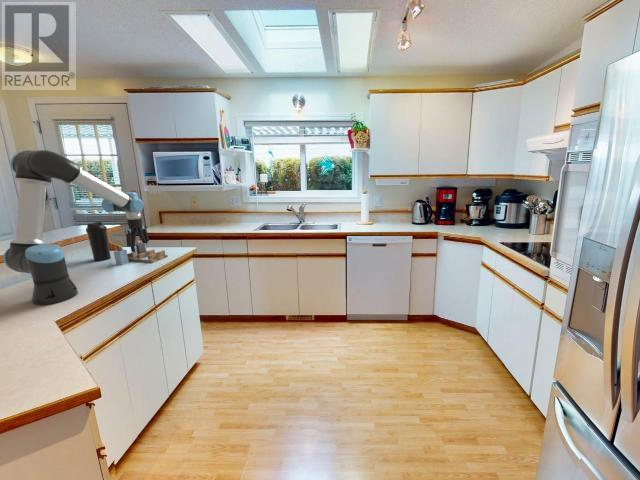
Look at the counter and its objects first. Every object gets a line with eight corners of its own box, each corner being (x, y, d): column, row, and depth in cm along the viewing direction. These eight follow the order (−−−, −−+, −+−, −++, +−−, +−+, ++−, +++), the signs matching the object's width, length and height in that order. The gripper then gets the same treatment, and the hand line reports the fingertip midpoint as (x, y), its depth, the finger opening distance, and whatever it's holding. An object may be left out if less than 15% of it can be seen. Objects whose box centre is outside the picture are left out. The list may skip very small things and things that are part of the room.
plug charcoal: (134, 257, 183) (132, 241, 181) (140, 255, 187) (138, 239, 185) (140, 257, 182) (138, 241, 180) (146, 255, 186) (144, 240, 184)
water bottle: (116, 256, 189) (109, 221, 184) (103, 261, 180) (95, 224, 174) (101, 256, 190) (94, 221, 185) (88, 261, 181) (80, 224, 175)
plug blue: (122, 265, 173) (119, 248, 171) (116, 264, 175) (112, 248, 172) (128, 262, 178) (125, 246, 175) (122, 262, 179) (119, 246, 176)
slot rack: (152, 262, 176) (151, 256, 175) (125, 260, 182) (124, 253, 181) (167, 256, 188) (166, 250, 187) (141, 254, 193) (140, 248, 192)
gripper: (124, 221, 169) (131, 260, 174) (152, 215, 187) (157, 250, 193) (114, 221, 171) (121, 259, 176) (142, 215, 189) (148, 250, 195)
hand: (140, 254), depth 185 cm, fingers open, 7 cm apart
